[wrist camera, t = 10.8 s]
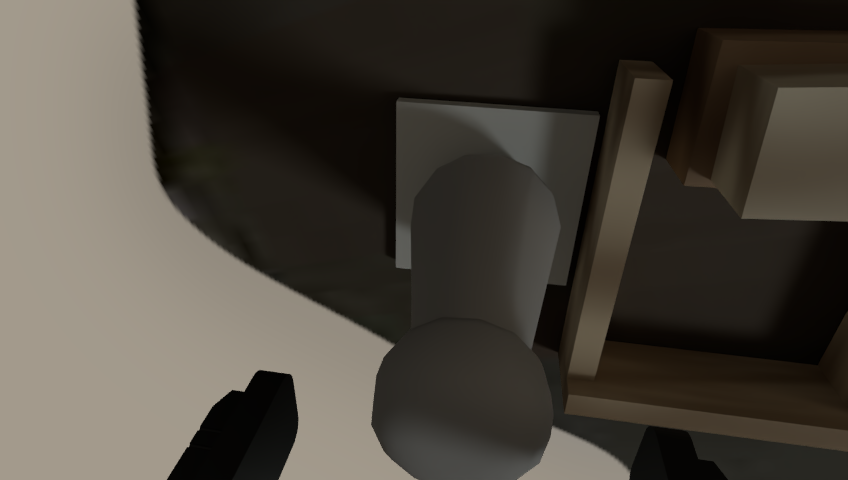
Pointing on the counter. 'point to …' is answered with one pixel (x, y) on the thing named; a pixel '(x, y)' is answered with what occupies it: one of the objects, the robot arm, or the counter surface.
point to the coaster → (495, 134)
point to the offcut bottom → (715, 80)
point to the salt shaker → (472, 327)
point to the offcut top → (786, 143)
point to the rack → (669, 367)
